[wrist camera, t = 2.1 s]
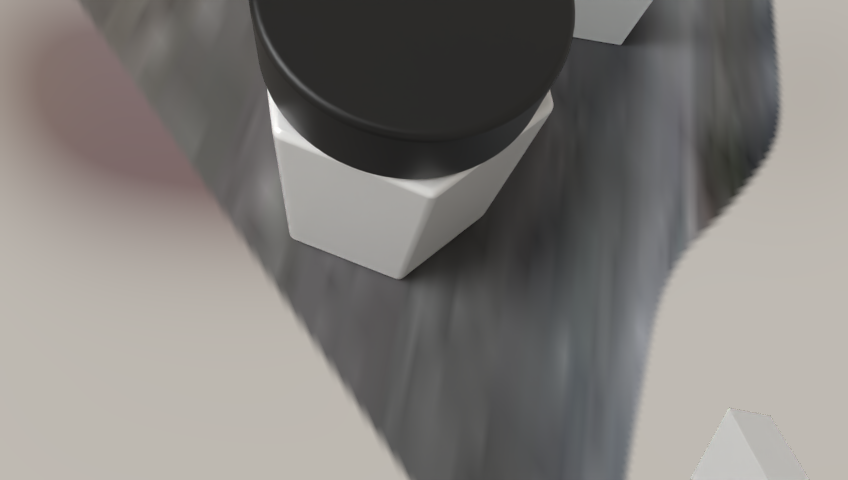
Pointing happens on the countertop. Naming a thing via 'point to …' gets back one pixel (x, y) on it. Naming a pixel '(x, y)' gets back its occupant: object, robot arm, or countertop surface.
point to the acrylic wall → (607, 19)
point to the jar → (403, 114)
